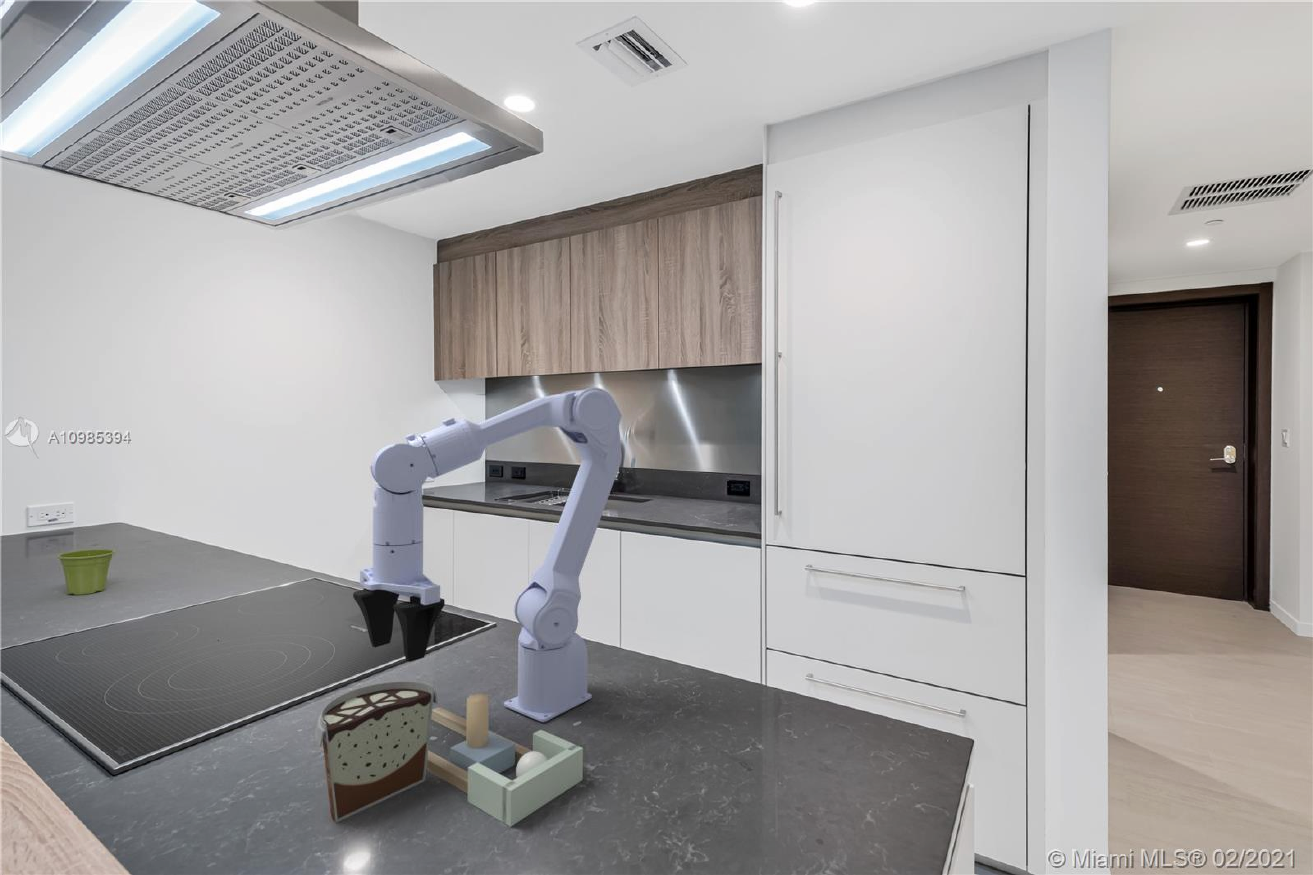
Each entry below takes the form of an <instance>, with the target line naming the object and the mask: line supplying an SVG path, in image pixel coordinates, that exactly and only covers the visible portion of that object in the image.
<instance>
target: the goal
mask: <svg viewBox="0 0 1313 875" xmlns="http://www.w3.org/2000/svg"><path fill="white" fill-rule="evenodd" d="M532 751H537V752H540V753H542V754H543V755H544V756H545V757H546V758H547V761H546V762H544V763H542V764H540V765H539V766H537V767H535V768H533V769H532V770H530V771H528V772H526V773H525V774H523V775H521V776H520V777H518V778H517V777H516V778H515V779H513V780H512V779H511V778H510V779H509V778H508V777H506V776H504V775H503V774H501V773H499V774H498V773H497V772H495V771H493V770H491V769H489V768H487V767H485V766H483V765H481V764H480V763H478V762H477V763H476V764H474V765H472V766H470V767H468V794H467V802H468V803H469V804H471V805H473V806H475V807H476V808H478V809H480V810H482V811H483V812H484V813H486V814H488V815H489V816H491V817H493V818H495V819H496V820H498V821H499V822H501V823H503V824H505V825H506V826H508V827H510V828H511V827H513V826H514V825H516V824H518V823H519V822H520V821H522V820H523V819H525V818H526V817H528V816H529V815H532V814H533V813H534V812H535V811H537V810H539V809H540V808H541V807H544V806H545V805H547V804H548V803H550V802H551V801H553V800H554V799H556V798H557V797H559V796H560V795H562V794H563V793H565V792H566V791H568V790H570V789H571V788H573V787H574V786H576V785H577V784H579V783H580V782H581V781H583V770H584V769H583V768H584V765H583V763H584V760H583V758H584V756H583V755H584V748H583V747H581V746H579V745H577V744H575V743H572V742H570V741H567V740H565V739H563V738H561V737H558V736H556V735H554V734H551V733H550V732H548V731H545V730H542V729H539V730H538V731H535V732H534V733H532Z"/></svg>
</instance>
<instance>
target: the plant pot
mask: <svg viewBox="0 0 1313 875" xmlns="http://www.w3.org/2000/svg"><path fill="white" fill-rule="evenodd" d="M115 552H116V551H115V549H108V548H99V549H97V548H96V549H83V550H82V549H81V550H74V551H68V552H63V553H60V554H58V555H57V558H58V559H59V560H60V564H61V565H62V568H63V573H64V579H65V585H66V592H67V595H75V596H82V595H91V594H94V593H96V592H102V591H104V590H105V589H106V584H107V578H108V572H109V569H110V568H109V567H110V563H111V560H112V558H113V554H115Z"/></svg>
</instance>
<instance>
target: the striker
mask: <svg viewBox="0 0 1313 875" xmlns="http://www.w3.org/2000/svg"><path fill="white" fill-rule="evenodd" d="M489 704H490V698H489V695H488V694H485V693H476V694H471V695H470V696H468V697H467V698H466V720H467V727H466V740H464V741H461V742H460V743H457V744H455V745H454V746H451V747H450V748H449V749H450V752H449V753H450V757H449V758H450V759H449V760H450V761H449V762H450V763H452V764H454V765H456V766H458V767H459V768H461V769H463V770H465V771H467V772H468V767H470V766H472V765H474V764H476V763H477V762H478V763H480V764H481V765H483V766H485V767H487V768H489V769H491V770H493V771H495V772H497V773H498V774H501V773H503V772H505V771H507V770H508V769H510V768H512V767H514V766H515V765H516V761H515V744H514V743H512V742H513V741H512V742H510V741H511V740H510V741H508V740H509V739H508V740H506V739H507V738H506V739H504V738H505V737H504V738H502V737H503V736H502V737H500V736H501V735H500V736H498V735H499V734H498V735H495V734H496V733H495V734H493V733H494V732H493V733H491V732H492V731H491V732H489V731H490V730H489V724H490V723H489V722H490V721H489V717H490V716H489V714H490V713H489V710H490V709H489V708H490V707H489V706H490V705H489ZM488 730H489V731H488Z"/></svg>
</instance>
